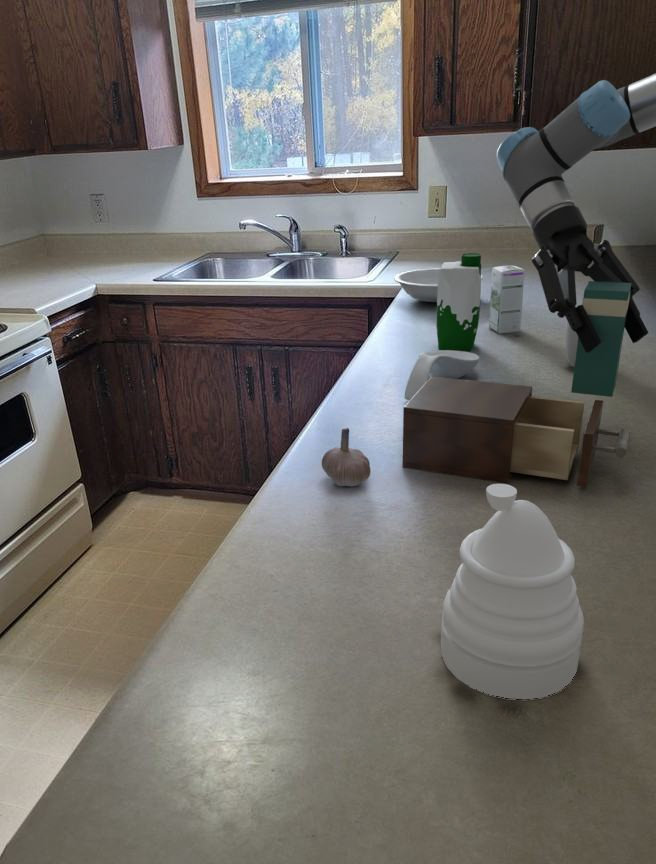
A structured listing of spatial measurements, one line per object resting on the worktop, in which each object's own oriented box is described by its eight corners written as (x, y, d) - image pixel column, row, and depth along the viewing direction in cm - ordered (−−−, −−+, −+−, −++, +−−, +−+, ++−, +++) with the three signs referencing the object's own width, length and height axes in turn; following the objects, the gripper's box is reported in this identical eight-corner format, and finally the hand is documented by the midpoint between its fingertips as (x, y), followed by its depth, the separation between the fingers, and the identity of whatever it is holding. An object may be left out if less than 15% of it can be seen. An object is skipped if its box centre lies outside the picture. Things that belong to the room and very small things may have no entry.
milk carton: (475, 353, 159) (481, 258, 150) (433, 352, 162) (436, 258, 153) (478, 342, 167) (484, 251, 158) (438, 341, 169) (441, 251, 160)
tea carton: (615, 384, 117) (632, 282, 110) (612, 397, 113) (629, 291, 105) (575, 380, 120) (588, 280, 113) (570, 392, 115) (584, 289, 108)
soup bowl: (376, 301, 208) (376, 277, 205) (435, 287, 220) (436, 264, 217) (440, 315, 190) (441, 289, 187) (500, 299, 203) (501, 274, 200)
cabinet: (526, 444, 116) (532, 386, 111) (508, 483, 104) (513, 420, 100) (430, 431, 122) (432, 376, 118) (402, 467, 110) (403, 407, 106)
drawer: (627, 453, 109) (635, 403, 106) (619, 492, 98) (628, 438, 95) (498, 436, 117) (502, 390, 113) (479, 471, 106) (482, 421, 102)
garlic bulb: (333, 465, 112) (332, 416, 108) (379, 472, 109) (379, 422, 106) (313, 486, 106) (311, 435, 102) (361, 494, 103) (360, 442, 99)
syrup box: (521, 331, 173) (526, 268, 166) (497, 334, 172) (501, 270, 166) (510, 326, 178) (515, 264, 172) (487, 328, 177) (491, 266, 171)
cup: (604, 372, 145) (611, 321, 140) (560, 369, 147) (566, 320, 143) (602, 359, 152) (609, 311, 147) (561, 357, 154) (566, 310, 150)
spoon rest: (430, 363, 155) (431, 329, 152) (485, 369, 150) (487, 334, 147) (387, 399, 137) (387, 362, 133) (448, 407, 131) (450, 369, 128)
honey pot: (454, 703, 66) (465, 529, 58) (430, 616, 78) (436, 461, 70) (598, 697, 66) (629, 522, 58) (553, 611, 77) (573, 455, 69)
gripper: (591, 228, 123) (652, 344, 117) (487, 242, 116) (546, 367, 109) (621, 197, 116) (687, 318, 110) (512, 209, 109) (577, 340, 103)
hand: (617, 342), depth 110 cm, fingers closed on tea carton, 9 cm apart
